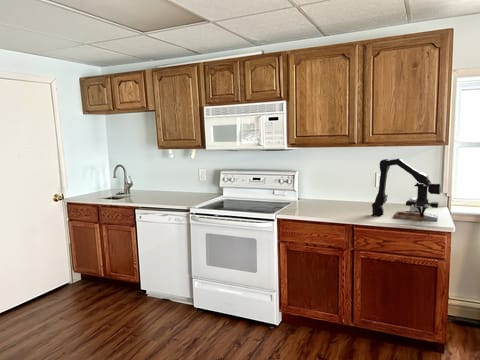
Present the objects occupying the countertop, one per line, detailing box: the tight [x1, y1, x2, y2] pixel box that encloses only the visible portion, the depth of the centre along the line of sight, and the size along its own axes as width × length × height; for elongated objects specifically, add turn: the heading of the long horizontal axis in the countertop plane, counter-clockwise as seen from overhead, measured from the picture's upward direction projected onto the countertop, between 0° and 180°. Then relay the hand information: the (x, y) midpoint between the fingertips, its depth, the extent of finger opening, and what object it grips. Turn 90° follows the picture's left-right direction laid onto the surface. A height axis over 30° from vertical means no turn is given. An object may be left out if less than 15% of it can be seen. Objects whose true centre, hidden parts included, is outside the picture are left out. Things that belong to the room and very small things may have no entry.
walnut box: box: [392, 211, 425, 222], centre depth 241 cm, size 18×12×3 cm, turn 55°
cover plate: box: [423, 212, 439, 222], centre depth 234 cm, size 8×8×3 cm
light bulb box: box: [409, 196, 423, 213], centre depth 255 cm, size 11×7×11 cm, turn 170°
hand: (421, 216), depth 237 cm, fingers closed
